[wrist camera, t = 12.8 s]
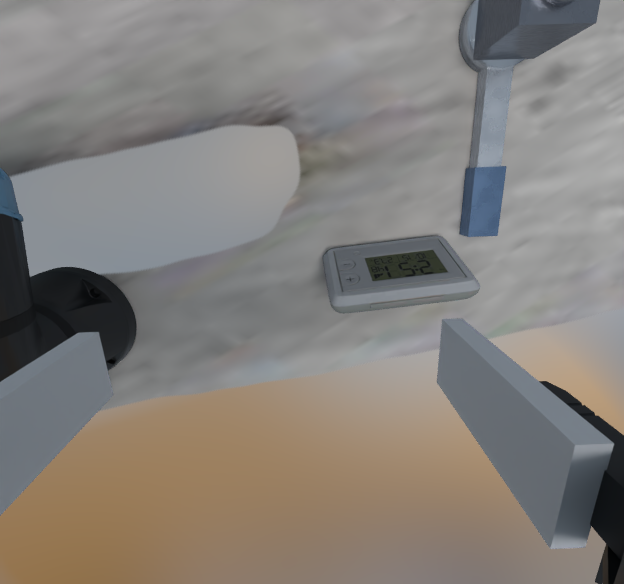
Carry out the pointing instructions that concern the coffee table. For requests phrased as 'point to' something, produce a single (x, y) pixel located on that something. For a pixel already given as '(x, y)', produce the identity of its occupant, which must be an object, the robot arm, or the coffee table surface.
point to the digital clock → (396, 275)
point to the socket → (528, 26)
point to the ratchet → (485, 136)
